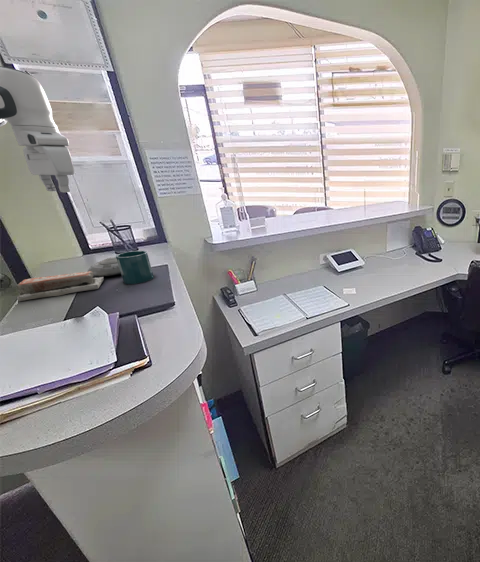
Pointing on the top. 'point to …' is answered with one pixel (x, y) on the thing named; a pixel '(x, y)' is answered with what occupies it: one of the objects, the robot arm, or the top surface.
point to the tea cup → (135, 267)
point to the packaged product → (57, 285)
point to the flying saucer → (105, 267)
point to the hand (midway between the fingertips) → (58, 191)
